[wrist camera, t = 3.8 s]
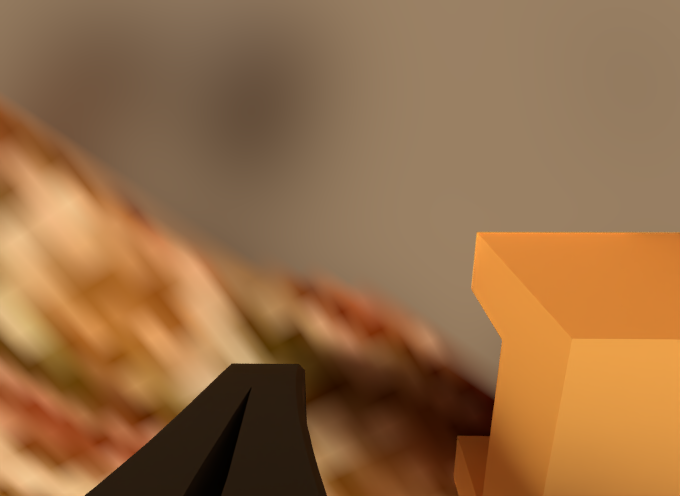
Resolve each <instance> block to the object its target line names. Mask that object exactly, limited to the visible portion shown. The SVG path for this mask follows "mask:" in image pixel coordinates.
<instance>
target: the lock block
mask: <svg viewBox="0 0 680 496" xmlns="http://www.w3.org/2000/svg"><path fill="white" fill-rule="evenodd" d="M471 289H472V291H473V293H474V294H475V296H476V297H477V299H478V301H479V303H480V304H481V306H482V308H483V309H484V311H485V312H486V314H487V316H488V317H489V319H490V320H491V322H492V324H493V325H494V327H495V329H496V330H497V332H498V334H499V336H500V337H501V339H502V346H501V354H500V362H499V370H498V377H497V385H496V393H495V401H494V409H493V417H492V424H491V432H490V436H457V446H456V457H455V467H454V481H455V485H456V488H457V492H458V496H680V232H477V233H476V244H475V253H474V265H473V274H472V284H471Z"/></svg>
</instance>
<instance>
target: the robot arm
mask: <svg viewBox="0 0 680 496" xmlns="http://www.w3.org/2000/svg"><path fill="white" fill-rule="evenodd" d="M85 496H327V495H326V492H325V488H324V485H323V482H322V479H321V476H320V473H319V470H318V466H317V463H316V459H315V456H314V452H313V448H312V444H311V439H310V435H309V431H308V427H307V417H306V391H305V370H304V369H303V368H302V367H301V366H300V365H299V364H231V365H230V366H229V367H228V368H227V369H226V370H225V371H223V372H222V373H221V374H220V375H219V376H218V377H217V378H216V379H215V380H214V381H213V382H212V383H211V384H210V385H209V386H208V387H207V388H206V389H205V390H204V391H202V392H201V393H200V394H199V395H198V396H197V397H196V398H195V399H194V400H193V401H192V402H191V403H190V404H189V405H188V406H187V407H186V408H185V409H184V410H183V411H182V412H181V413H180V414H178V415H177V416H176V417H175V418H174V419H173V420H172V421H171V422H170V423H169V424H168V425H166V426H165V427H164V428H163V429H162V430H161V431H160V432H159V433H158V434H157V435H156V436H155V437H153V438H152V439H151V440H150V441H149V442H148V443H147V444H146V445H145V446H143V447H142V448H141V449H140V450H139V451H137V452H136V453H135V454H134V455H133V456H132V457H130V458H129V459H128V460H127V461H126V462H124V463H123V464H122V465H121V466H120V467H119V468H117V469H116V470H115V471H114V472H113V473H111V474H110V475H109V476H108V477H107V478H106V479H104V480H103V481H102V482H101V483H100V484H98V485H97V486H96V487H95V488H94V489H92V490H91V491H90V492H88V493H87V494H86V495H85Z"/></svg>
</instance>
